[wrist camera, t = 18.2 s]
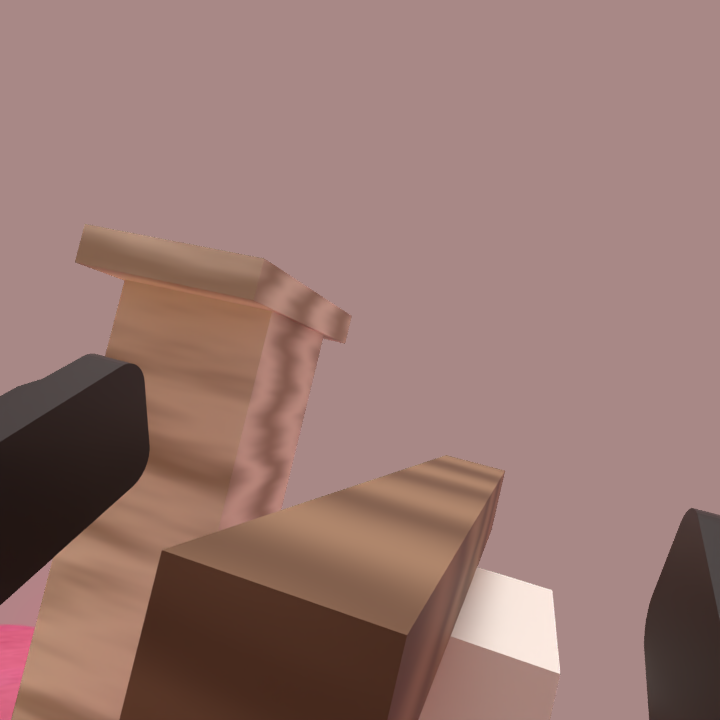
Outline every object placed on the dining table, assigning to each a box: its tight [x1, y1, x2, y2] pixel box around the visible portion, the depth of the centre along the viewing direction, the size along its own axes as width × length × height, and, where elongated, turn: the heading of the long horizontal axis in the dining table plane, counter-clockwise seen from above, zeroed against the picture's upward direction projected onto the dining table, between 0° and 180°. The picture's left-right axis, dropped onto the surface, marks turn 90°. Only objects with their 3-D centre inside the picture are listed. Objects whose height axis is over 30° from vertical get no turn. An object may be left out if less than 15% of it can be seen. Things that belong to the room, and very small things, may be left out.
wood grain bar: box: [119, 455, 505, 720], centre depth 19 cm, size 26×3×3 cm, turn 164°
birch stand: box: [11, 224, 351, 720], centre depth 38 cm, size 16×16×32 cm
